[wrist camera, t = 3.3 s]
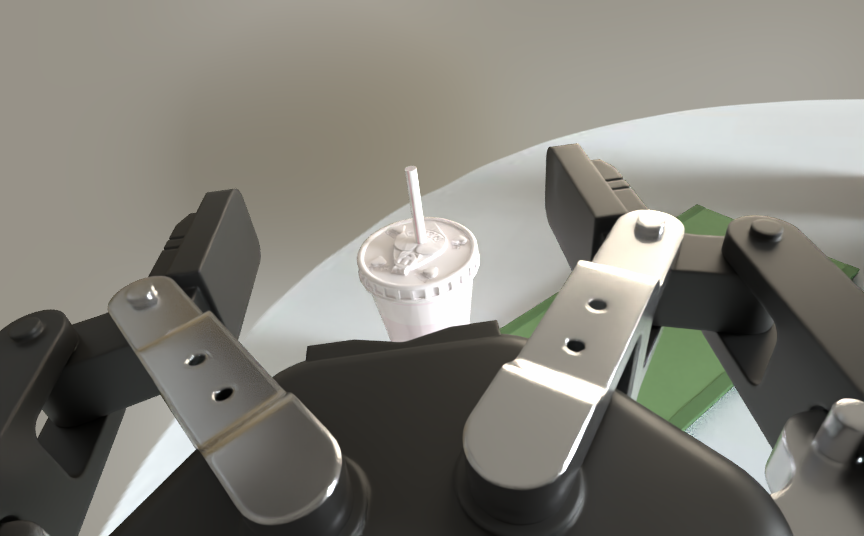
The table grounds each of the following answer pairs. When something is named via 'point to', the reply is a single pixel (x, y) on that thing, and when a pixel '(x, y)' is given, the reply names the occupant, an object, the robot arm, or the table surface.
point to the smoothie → (419, 271)
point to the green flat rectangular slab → (674, 347)
